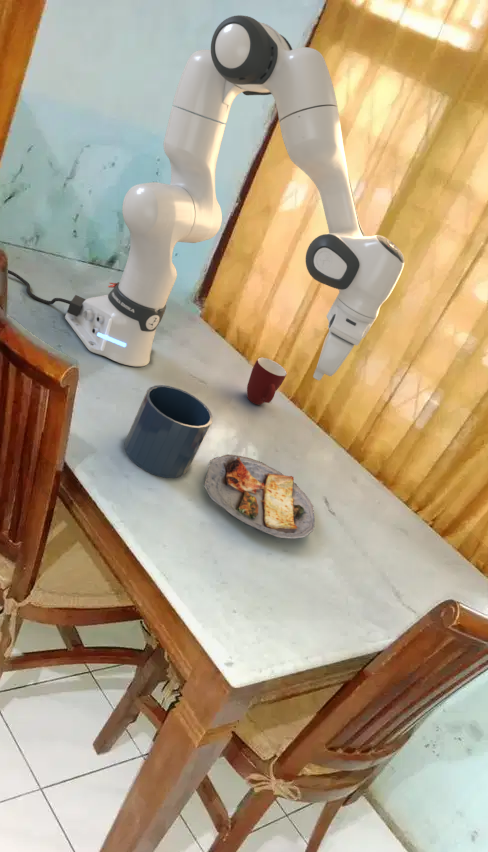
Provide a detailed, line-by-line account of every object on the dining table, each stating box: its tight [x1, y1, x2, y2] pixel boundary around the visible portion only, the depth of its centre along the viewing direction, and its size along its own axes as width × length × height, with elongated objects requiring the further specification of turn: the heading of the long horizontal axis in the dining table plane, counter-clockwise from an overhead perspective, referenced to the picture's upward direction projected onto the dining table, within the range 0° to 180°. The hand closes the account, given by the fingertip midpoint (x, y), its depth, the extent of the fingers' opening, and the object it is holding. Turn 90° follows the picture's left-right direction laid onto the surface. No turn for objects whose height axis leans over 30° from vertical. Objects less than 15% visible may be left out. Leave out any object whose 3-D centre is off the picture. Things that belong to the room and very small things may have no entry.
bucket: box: [123, 384, 214, 479], centre depth 137 cm, size 13×13×12 cm
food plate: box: [203, 454, 316, 539], centre depth 142 cm, size 25×23×4 cm
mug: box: [246, 356, 288, 406], centre depth 177 cm, size 10×8×10 cm
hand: (316, 376), depth 151 cm, fingers closed
